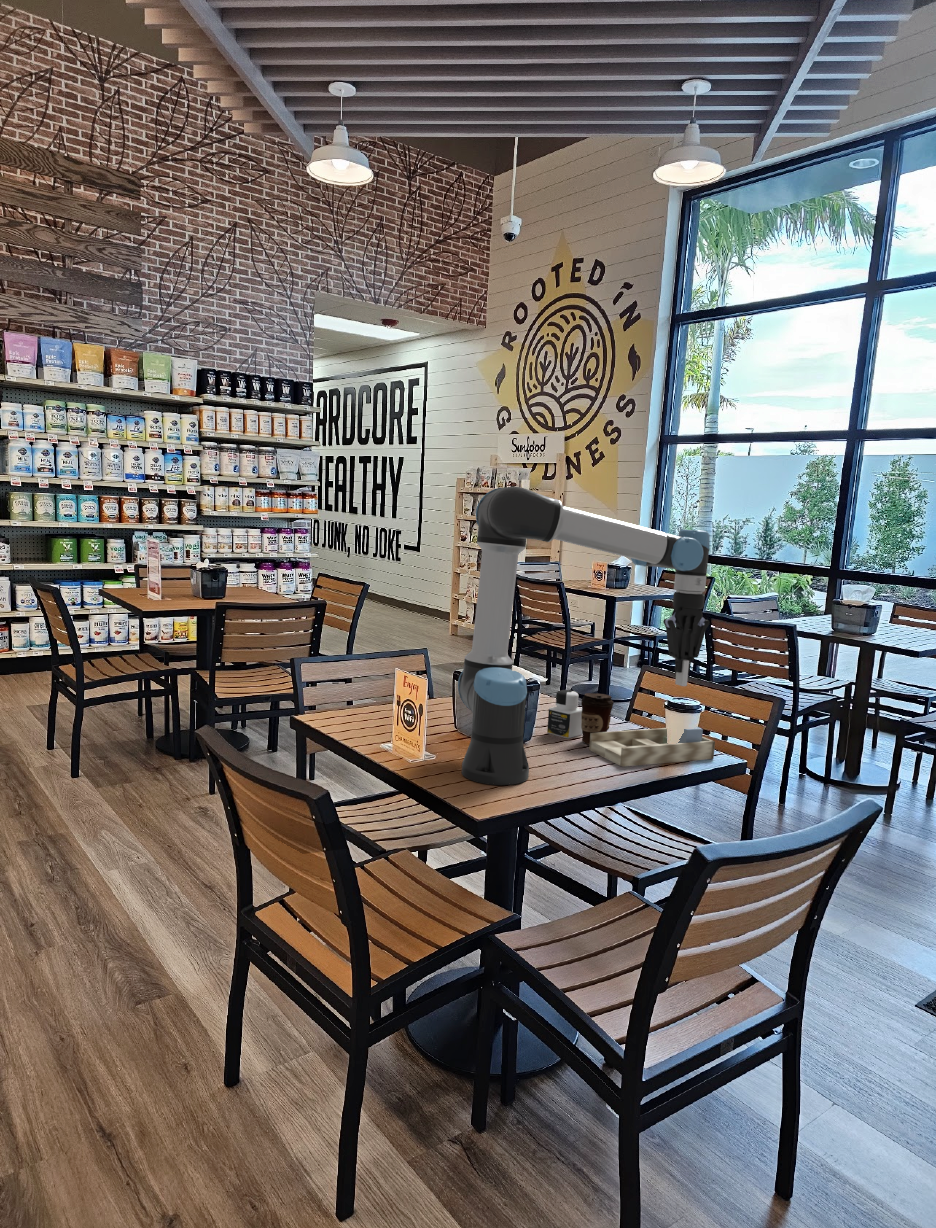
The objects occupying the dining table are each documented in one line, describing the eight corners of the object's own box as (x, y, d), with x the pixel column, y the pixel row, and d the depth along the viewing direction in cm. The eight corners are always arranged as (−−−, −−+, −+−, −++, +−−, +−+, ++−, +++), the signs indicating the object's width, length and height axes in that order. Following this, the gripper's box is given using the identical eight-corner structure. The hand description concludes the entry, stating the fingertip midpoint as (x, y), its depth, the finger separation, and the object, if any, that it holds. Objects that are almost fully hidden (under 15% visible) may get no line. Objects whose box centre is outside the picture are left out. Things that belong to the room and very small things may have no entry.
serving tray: (622, 766, 190) (623, 748, 190) (589, 750, 204) (590, 732, 203) (713, 758, 202) (715, 741, 201) (676, 743, 215) (678, 727, 214)
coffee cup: (600, 749, 205) (603, 700, 203) (572, 742, 210) (575, 694, 208) (615, 743, 212) (619, 695, 210) (587, 737, 216) (591, 690, 215)
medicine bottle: (546, 733, 218) (549, 690, 217) (561, 729, 223) (564, 687, 222) (568, 739, 213) (571, 695, 212) (582, 734, 219) (585, 692, 217)
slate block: (685, 749, 200) (687, 729, 199) (672, 743, 204) (674, 724, 204) (700, 748, 202) (702, 729, 201) (688, 742, 206) (689, 724, 206)
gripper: (677, 593, 192) (669, 688, 194) (720, 594, 197) (711, 687, 199) (658, 590, 198) (650, 682, 201) (700, 591, 204) (691, 681, 206)
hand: (680, 685), depth 200 cm, fingers closed
